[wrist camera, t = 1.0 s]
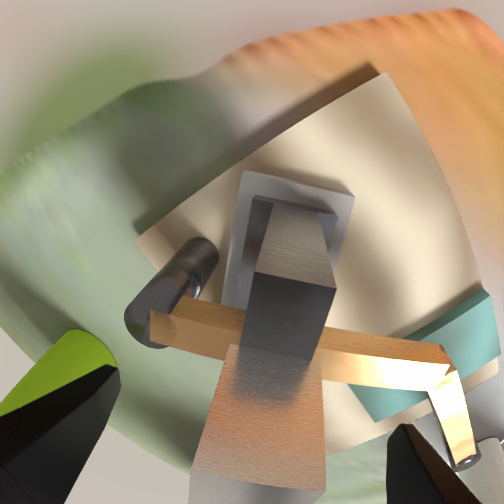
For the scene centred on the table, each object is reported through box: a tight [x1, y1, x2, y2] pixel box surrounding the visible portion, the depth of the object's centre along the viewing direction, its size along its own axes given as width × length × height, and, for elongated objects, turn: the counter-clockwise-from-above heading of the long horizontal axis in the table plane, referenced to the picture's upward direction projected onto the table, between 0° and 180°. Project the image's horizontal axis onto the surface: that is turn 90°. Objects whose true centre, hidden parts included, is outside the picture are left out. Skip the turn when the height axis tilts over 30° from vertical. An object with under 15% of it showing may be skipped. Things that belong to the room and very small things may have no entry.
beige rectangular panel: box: [134, 72, 501, 456], centre depth 18 cm, size 17×24×2 cm
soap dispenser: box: [0, 329, 117, 416], centre depth 15 cm, size 6×7×20 cm
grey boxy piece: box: [188, 194, 338, 504], centre depth 11 cm, size 4×8×12 cm, turn 170°
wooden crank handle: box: [124, 237, 482, 472], centre depth 15 cm, size 6×23×7 cm, turn 59°
